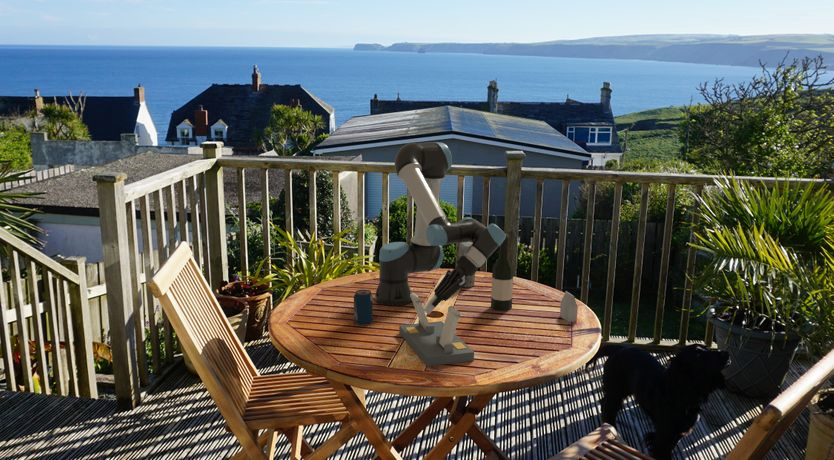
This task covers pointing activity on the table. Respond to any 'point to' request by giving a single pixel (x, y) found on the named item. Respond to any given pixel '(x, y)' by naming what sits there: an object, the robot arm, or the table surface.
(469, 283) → the spray can
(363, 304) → the soda can
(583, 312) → the table surface
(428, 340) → the switch board
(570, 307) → the tea bag
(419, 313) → the lever
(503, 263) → the wine bottle
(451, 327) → the lever
